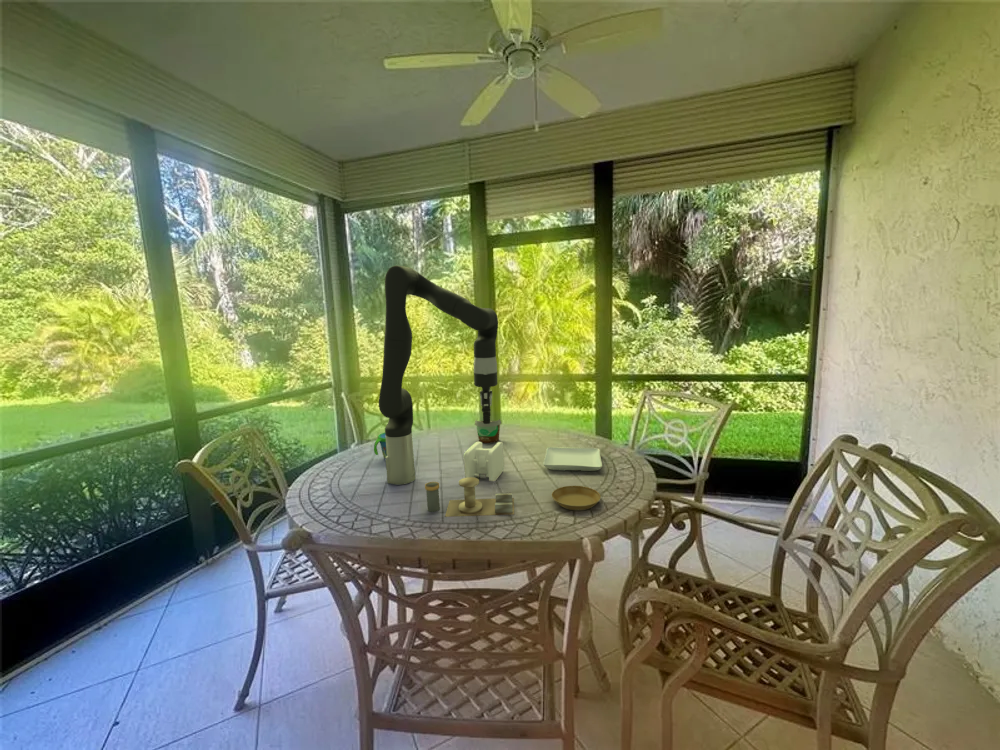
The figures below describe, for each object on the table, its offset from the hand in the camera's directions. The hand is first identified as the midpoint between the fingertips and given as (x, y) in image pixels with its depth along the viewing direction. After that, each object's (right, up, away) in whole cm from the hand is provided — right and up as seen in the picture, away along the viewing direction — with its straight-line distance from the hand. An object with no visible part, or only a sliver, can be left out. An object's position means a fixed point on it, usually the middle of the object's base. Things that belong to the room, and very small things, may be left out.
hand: (487, 420), depth 142 cm
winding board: (-2, -26, -12) cm, 28 cm away
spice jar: (-16, -27, -12) cm, 33 cm away
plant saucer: (+28, -25, -9) cm, 38 cm away
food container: (-1, -16, +56) cm, 58 cm away
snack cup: (-41, -20, +40) cm, 61 cm away
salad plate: (+32, -20, +25) cm, 45 cm away
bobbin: (-5, -25, -12) cm, 28 cm away
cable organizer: (-1, -22, +15) cm, 27 cm away
